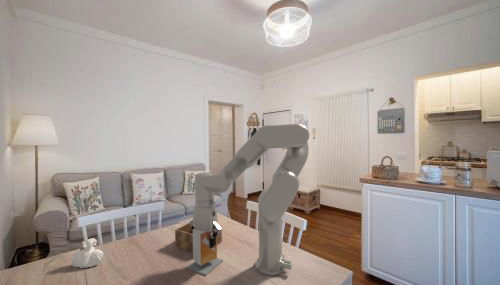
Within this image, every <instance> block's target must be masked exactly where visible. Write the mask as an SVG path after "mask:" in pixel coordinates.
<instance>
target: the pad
mask: <svg viewBox="0 0 500 285" xmlns="http://www.w3.org/2000/svg"><path fill="white" fill-rule="evenodd" d="M223 261H224V260H223V259H221V258H218V257H217V258H216V259H214V260H212V261H210V262H208V263H205V264H203V265H201V266H200V265H199V264H198V263H196V262H195V261H193V262H192V263H191V264H189V265H188V266H187V267H186V268H187V270H189V271H193V272H195V273H198V274H200V275H203V276H205V277H206V276H208V275H209V274H210V273H212V272H213V271H214V270H215V269H216V268H217V267H218V266H219V265H220V264H222V263H223Z"/></svg>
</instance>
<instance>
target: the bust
mask: <svg viewBox="0 0 500 285" xmlns="http://www.w3.org/2000/svg"><path fill="white" fill-rule="evenodd" d="M81 243H82V248H83V250H79V251H78V252H75V253H73V255H72V256H71V265H72V267H74V268H78V267H80V268H79V269H85V268H87V269H88V267H90V268H92V267H94V266H98V265H100V264H101V261H102V259H103V257H104V252H103V251H102V250H100V249H97V248H95V247H94V246H97V243H98V240H97V239H96V238H94V237H93V238H89V239H86V240H84V241H82V242H81Z"/></svg>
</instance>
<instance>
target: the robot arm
mask: <svg viewBox="0 0 500 285" xmlns="http://www.w3.org/2000/svg"><path fill="white" fill-rule="evenodd" d="M309 139H310V132H309V129H308V128H307V127H306V126H305V125H303V124H302V123H291V124H289V123H288V124H278V125H277V124H273V125H269V124H268V125H262V126H260V127H259V128H258V129H257V130H256V131H255V133H254V134H253V135H252V136H251V137H250V138H249V139H248V140H247V141H246V142H245V143H244V144H243V145H242V146H241V147H240V148H239V149H238V150H237V152H236V153H235V155H234V156H233V157H232V158H231V160H230V161H229V162H228V163H227V164H226V165H225V166H224V167H223V168H222V169H221V170H220V171H219V172H218V173H216V174H213V173H212V172H198V173H196V174H195V176H194V196H195V197H194V201H195V203H194V207H193V212H192V213H193V215H192V220H190V221H189V222H188V223H190V225H191V228H192V230H193V229H199V230H202V231H206V232H209V235H210V237H211V238H210V248H213V247H214V246H215V245H216V236H217V235H218V234H219V233H220V231H221V230H222V231H223V229H221V228H220V226H221V225H219V223H218V222H219V221H218V212H217V208H216V201H214V200H215V199H214V196H215V194H214V193H219V194H221V193H225V192H227V191H228V190H229V189H230V188H231V186H232V184H233V183H234V182H235V181H236V180H237V179H238V178H239V177H240V176H241V175H242V174H243V173H244V172H245V171H246V170H248V169H249V168H252V166H255V164H256V163H257V162H258V161H259V160H260V159H261V158H262V157H263V155H265V154H266V152H267V151H268V150H270V149H283V148H287V150H286V153H285V155H284V156H283V158H282V160H281V162H280V164H279V166H278V167H277V169H276V170H275V171H274V172H273V175H272V178H271V180H272V183H271V184H270V186H269V187H268V188H267V189H265V190H263V191H262V192H261V193H260V194H259V196H258V201H257V204H258V206H257V208H258V258H257V259H256V260H255V262H254V264H255V265H254V266H255V268H256V270H257V271H258V272H259V273H261V274H263V275H266V276H277V275H280V274H282V273H284V271H285V270H286V269H287V270H289V271H291V270H292V267H293V264H292V263H291V260H288V259H285V254H283V232H282V231H283V216H284V215H285V213H286V212H287V210H288V209H289V207H290V205H291V204H292V202H293V201H294V199H295V197H296V196H297V193H298V190H299V187H300V180H299V175H300V174H301V172H302V170H303V168H304V166H305V164H306V163H307V160H308V157H309V143H308V142H309ZM215 229H216V231H215ZM212 231H213V234H212Z"/></svg>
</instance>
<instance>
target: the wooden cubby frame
mask: <svg viewBox="0 0 500 285" xmlns="http://www.w3.org/2000/svg"><path fill="white" fill-rule="evenodd" d="M219 226H220V228H221V229H222V228H223V227H222V226H221V225H219ZM222 234H223V229H222V230H221V231H220V233H219V234H218V235H217V246H218V245H219V244H221V243H222V242H223V236H222ZM174 237H175V238H174V239H175V240H174V241H175V247H177V248H180V249H183V250H187V251H189V252H192V253H193V230H192V228H191V225H190V223H189V222H188V223H186V224H185V225H183V226H180V227H178V228H175V229H174Z"/></svg>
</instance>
